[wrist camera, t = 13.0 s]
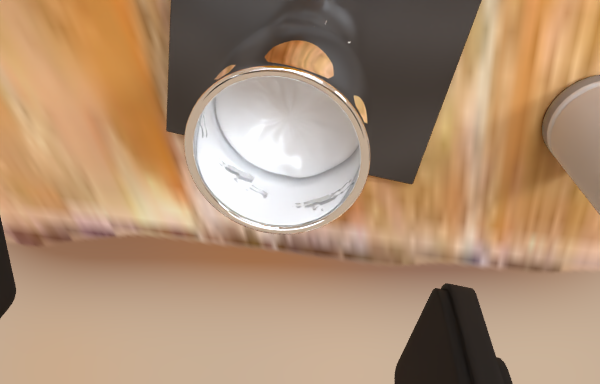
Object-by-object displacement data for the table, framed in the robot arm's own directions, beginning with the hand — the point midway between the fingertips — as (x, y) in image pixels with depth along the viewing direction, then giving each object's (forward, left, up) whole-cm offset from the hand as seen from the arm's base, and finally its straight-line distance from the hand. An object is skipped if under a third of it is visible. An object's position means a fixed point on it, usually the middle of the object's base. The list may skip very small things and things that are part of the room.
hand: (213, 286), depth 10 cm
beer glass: (0, 0, -22) cm, 22 cm away
